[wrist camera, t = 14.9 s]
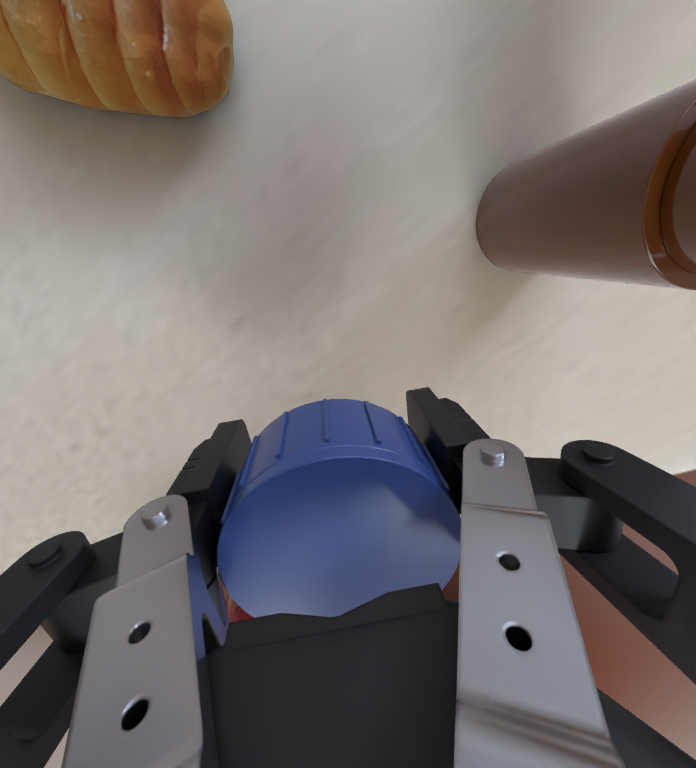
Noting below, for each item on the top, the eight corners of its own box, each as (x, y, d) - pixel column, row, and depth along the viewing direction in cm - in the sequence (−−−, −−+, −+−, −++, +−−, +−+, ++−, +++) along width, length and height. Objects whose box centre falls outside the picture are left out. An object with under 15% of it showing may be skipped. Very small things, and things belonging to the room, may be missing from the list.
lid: (289, 363, 8) (277, 412, 6) (462, 441, 10) (514, 508, 7) (213, 519, 10) (179, 610, 8) (371, 566, 12) (387, 656, 9)
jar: (497, 290, 18) (773, 350, 7) (460, 195, 16) (767, 78, 5) (587, 236, 17) (1043, 212, 6) (561, 130, 15) (1156, -161, 4)
